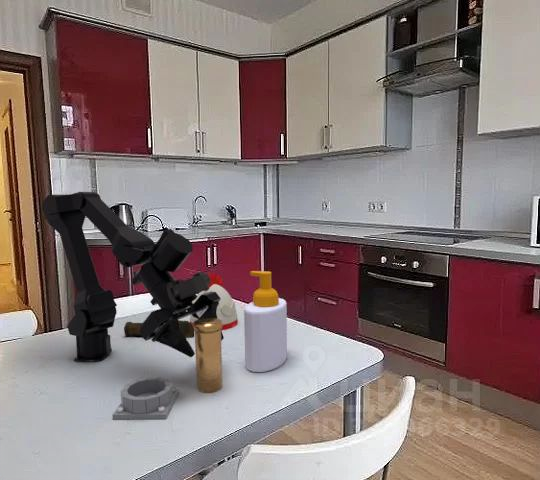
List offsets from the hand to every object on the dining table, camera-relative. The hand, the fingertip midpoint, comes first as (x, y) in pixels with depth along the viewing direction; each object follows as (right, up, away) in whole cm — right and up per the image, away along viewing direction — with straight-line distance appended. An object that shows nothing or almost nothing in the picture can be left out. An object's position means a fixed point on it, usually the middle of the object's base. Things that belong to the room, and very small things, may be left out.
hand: (208, 347), depth 78 cm
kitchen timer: (-5, -4, +41) cm, 41 cm away
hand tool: (-18, -5, +31) cm, 36 cm away
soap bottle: (+11, -7, +13) cm, 18 cm away
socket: (-10, -9, -6) cm, 15 cm away
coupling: (0, -8, +1) cm, 8 cm away
